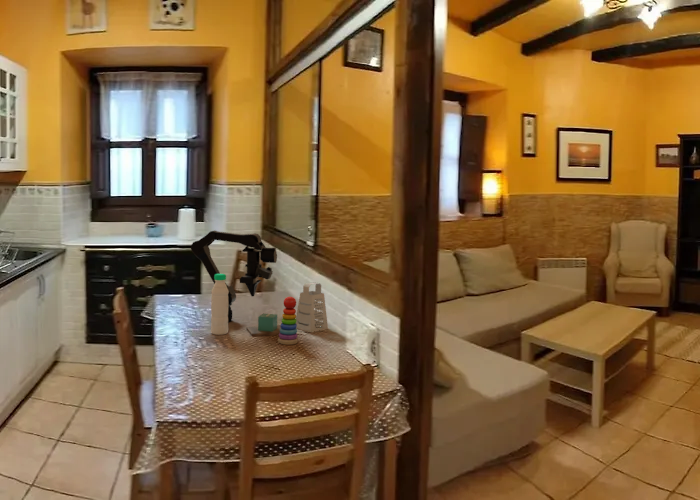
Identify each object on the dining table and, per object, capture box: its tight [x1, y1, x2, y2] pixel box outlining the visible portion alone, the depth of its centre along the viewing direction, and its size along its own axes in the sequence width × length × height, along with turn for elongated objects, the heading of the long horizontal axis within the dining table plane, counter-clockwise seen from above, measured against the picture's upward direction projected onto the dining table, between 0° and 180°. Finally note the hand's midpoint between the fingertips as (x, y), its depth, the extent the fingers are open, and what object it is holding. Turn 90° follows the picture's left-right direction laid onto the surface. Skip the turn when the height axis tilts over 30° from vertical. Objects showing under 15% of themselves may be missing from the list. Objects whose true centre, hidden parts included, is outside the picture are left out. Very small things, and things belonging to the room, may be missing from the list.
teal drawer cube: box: [257, 313, 278, 332], centre depth 265 cm, size 6×6×6 cm
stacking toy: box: [277, 296, 299, 346], centre depth 248 cm, size 8×8×19 cm
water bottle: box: [210, 273, 229, 336], centre depth 259 cm, size 7×7×25 cm
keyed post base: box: [245, 324, 281, 337], centre depth 265 cm, size 16×12×5 cm
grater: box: [295, 282, 329, 333], centre depth 273 cm, size 10×10×20 cm
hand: (252, 296), depth 280 cm, fingers closed
